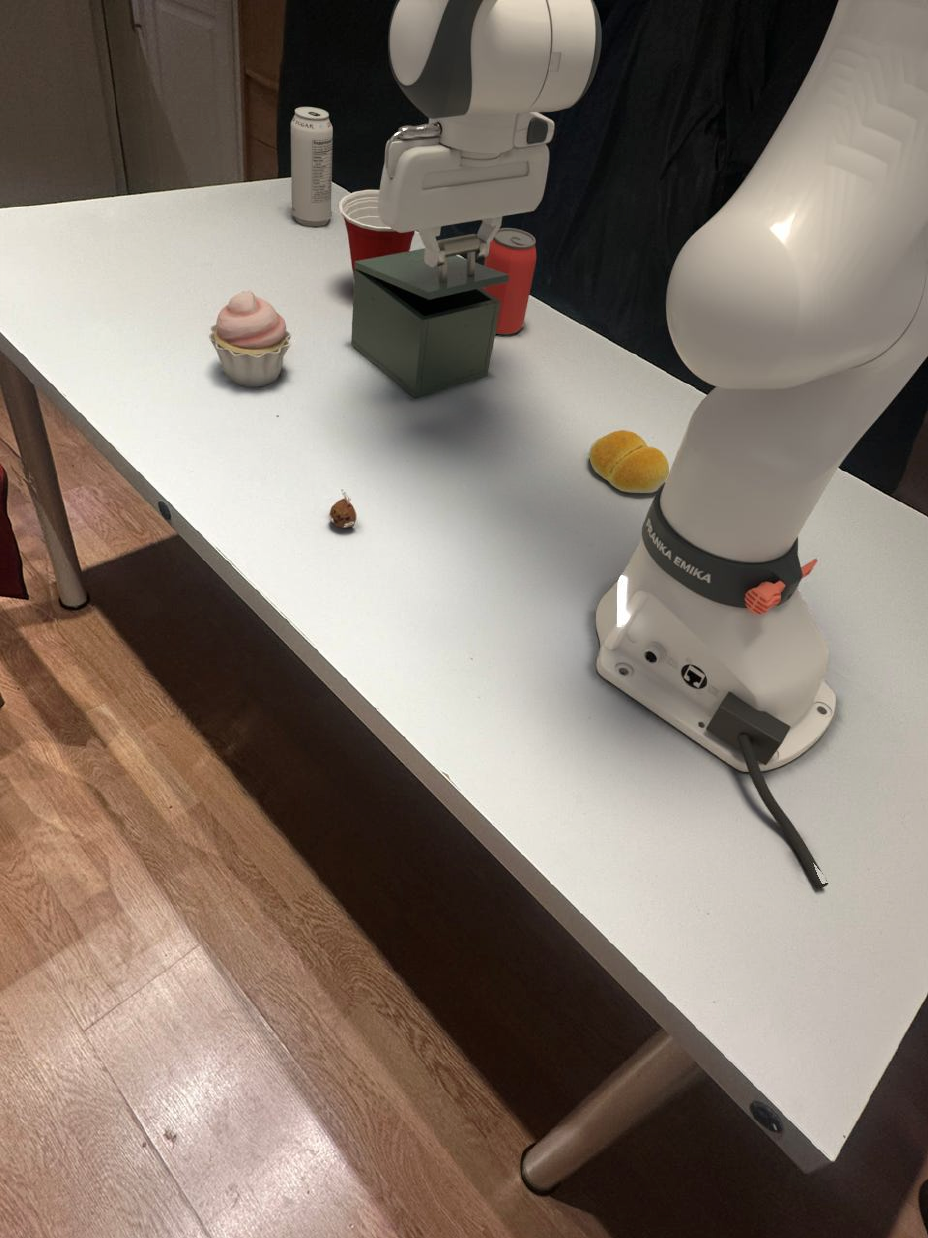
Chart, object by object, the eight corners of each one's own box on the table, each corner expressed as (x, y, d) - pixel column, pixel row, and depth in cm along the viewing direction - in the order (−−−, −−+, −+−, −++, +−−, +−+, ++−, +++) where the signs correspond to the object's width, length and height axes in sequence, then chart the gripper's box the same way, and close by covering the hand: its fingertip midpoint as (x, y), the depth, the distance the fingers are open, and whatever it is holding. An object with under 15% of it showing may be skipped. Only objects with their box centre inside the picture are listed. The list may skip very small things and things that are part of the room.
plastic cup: (321, 297, 112) (323, 205, 103) (359, 269, 119) (363, 181, 111) (393, 321, 110) (400, 229, 101) (426, 292, 117) (436, 204, 109)
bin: (487, 375, 104) (501, 301, 97) (414, 397, 98) (422, 320, 91) (423, 326, 110) (431, 253, 103) (350, 344, 104) (354, 268, 97)
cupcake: (301, 392, 95) (300, 309, 88) (218, 397, 92) (211, 312, 85) (284, 350, 101) (283, 270, 94) (206, 354, 98) (198, 271, 91)
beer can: (491, 339, 110) (506, 249, 102) (466, 316, 114) (479, 227, 105) (531, 333, 113) (549, 245, 105) (506, 310, 117) (522, 223, 108)
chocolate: (322, 518, 81) (323, 486, 78) (343, 512, 82) (344, 480, 79) (337, 537, 79) (338, 504, 76) (357, 531, 80) (359, 498, 77)
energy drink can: (310, 208, 132) (310, 102, 121) (338, 221, 130) (341, 115, 119) (283, 217, 128) (281, 109, 117) (312, 230, 126) (313, 121, 116)
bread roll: (633, 506, 89) (644, 476, 86) (575, 462, 93) (584, 433, 90) (680, 482, 93) (692, 453, 91) (623, 441, 98) (632, 412, 95)
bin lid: (508, 281, 95) (511, 233, 91) (428, 299, 89) (428, 249, 85) (432, 253, 103) (432, 208, 100) (354, 268, 97) (351, 221, 94)
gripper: (407, 138, 75) (397, 287, 85) (566, 123, 85) (541, 257, 95) (368, 116, 78) (362, 263, 88) (526, 104, 88) (505, 236, 98)
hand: (456, 259), depth 91 cm, fingers closed on bin lid, 5 cm apart
